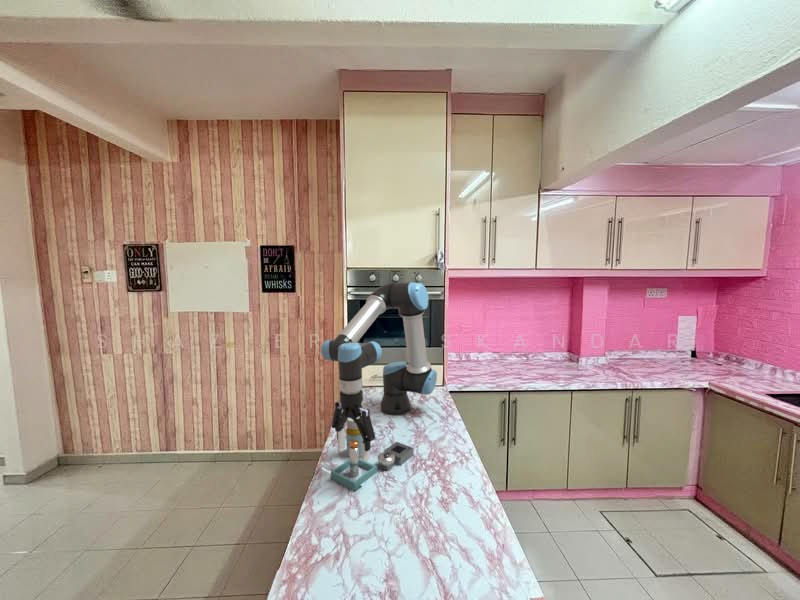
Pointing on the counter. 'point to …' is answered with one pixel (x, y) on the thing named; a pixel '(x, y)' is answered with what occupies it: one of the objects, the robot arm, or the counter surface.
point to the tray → (348, 482)
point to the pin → (354, 458)
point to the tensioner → (394, 455)
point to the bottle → (353, 436)
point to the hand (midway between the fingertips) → (353, 453)
